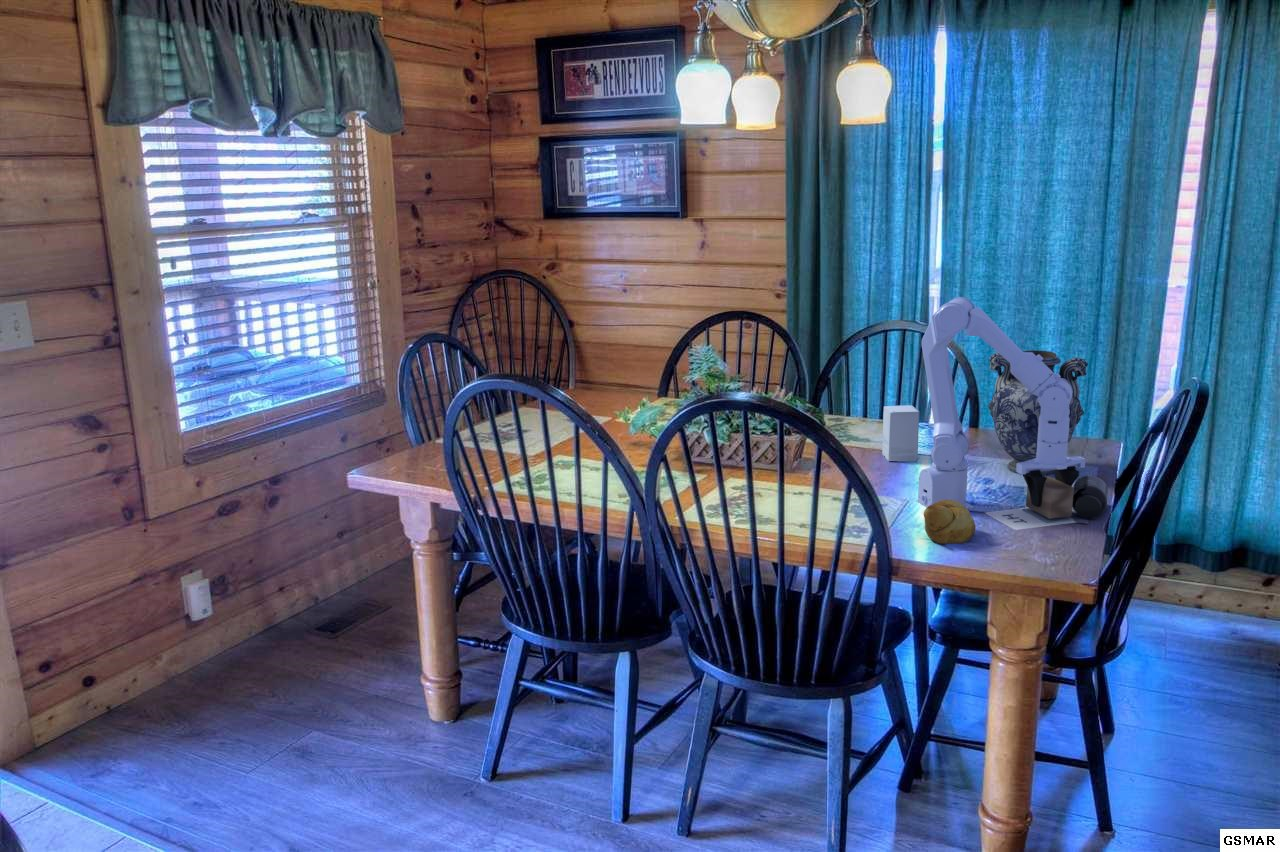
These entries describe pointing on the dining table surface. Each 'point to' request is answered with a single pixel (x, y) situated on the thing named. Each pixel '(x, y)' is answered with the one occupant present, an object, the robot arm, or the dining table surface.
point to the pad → (1045, 519)
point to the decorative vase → (1028, 406)
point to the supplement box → (900, 433)
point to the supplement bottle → (1090, 496)
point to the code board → (1020, 519)
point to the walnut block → (1054, 499)
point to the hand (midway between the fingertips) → (1048, 504)
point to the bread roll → (948, 522)
